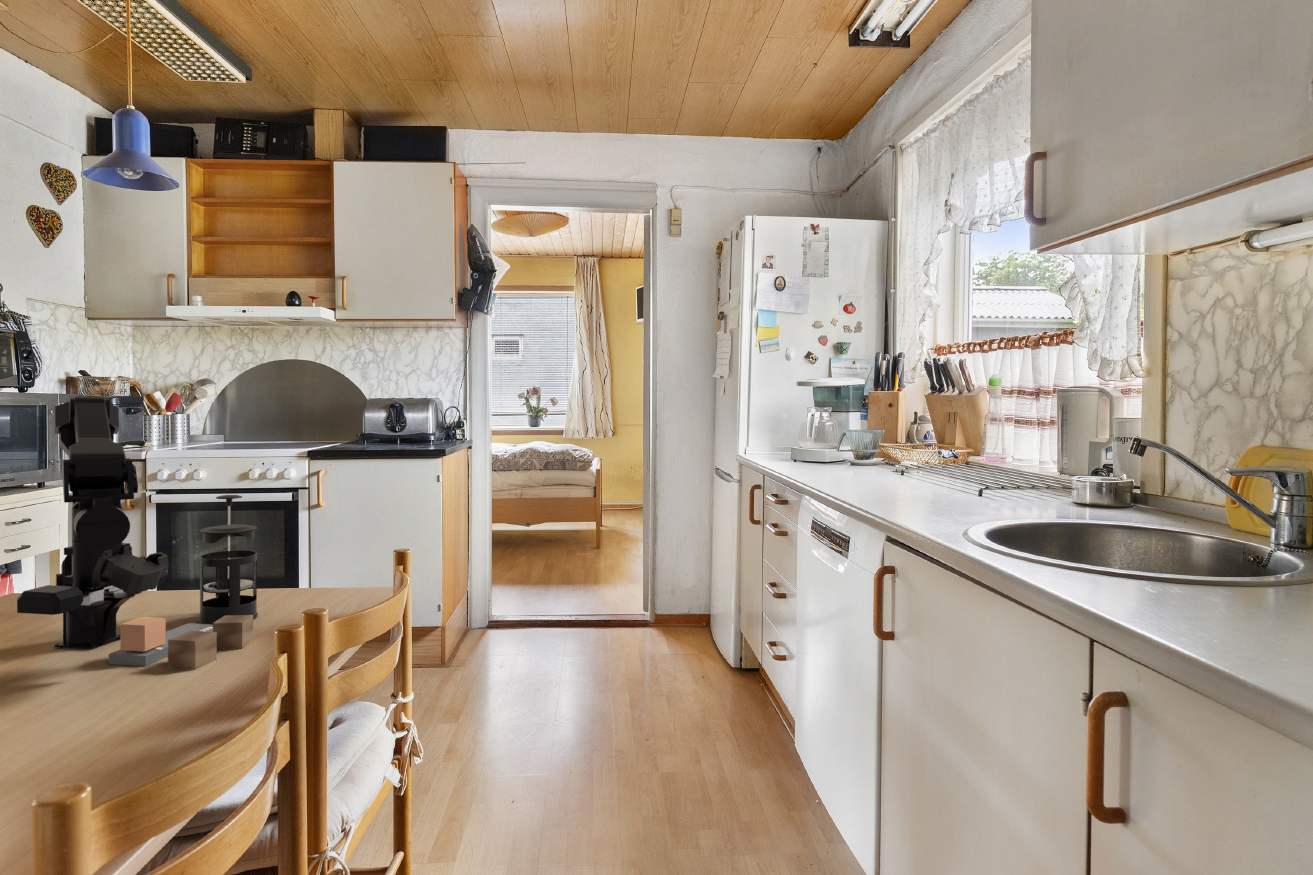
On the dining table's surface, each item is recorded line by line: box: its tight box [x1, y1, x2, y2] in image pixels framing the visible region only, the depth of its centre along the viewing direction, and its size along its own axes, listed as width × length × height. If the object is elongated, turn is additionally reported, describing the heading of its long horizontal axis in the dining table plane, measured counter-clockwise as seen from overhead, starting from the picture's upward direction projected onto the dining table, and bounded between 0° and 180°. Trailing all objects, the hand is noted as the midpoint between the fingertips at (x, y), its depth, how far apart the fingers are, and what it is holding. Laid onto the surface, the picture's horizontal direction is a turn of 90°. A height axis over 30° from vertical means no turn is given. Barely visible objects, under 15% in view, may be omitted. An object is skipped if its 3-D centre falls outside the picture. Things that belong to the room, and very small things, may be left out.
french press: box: [198, 494, 259, 625], centre depth 131 cm, size 12×9×23 cm
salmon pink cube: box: [119, 616, 167, 652], centre depth 110 cm, size 4×4×4 cm
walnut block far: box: [213, 615, 254, 651], centre depth 117 cm, size 4×4×4 cm
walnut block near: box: [167, 631, 218, 671], centre depth 108 cm, size 4×4×4 cm
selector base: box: [108, 622, 213, 667], centre depth 115 cm, size 6×16×2 cm, turn 175°
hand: (97, 646), depth 102 cm, fingers closed
